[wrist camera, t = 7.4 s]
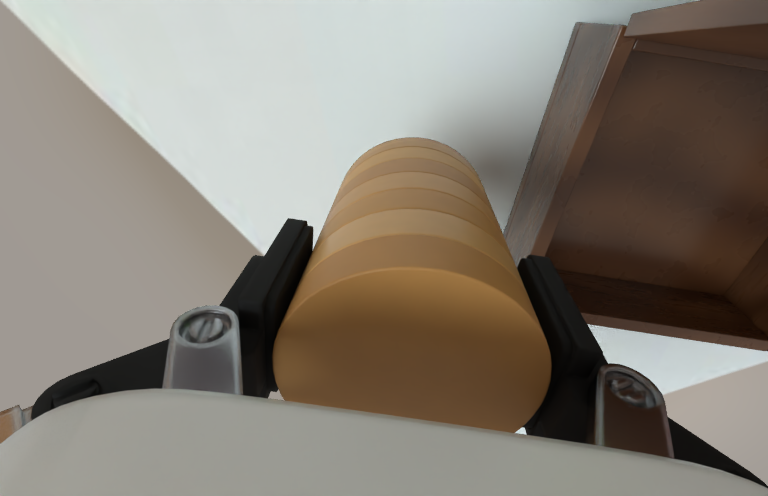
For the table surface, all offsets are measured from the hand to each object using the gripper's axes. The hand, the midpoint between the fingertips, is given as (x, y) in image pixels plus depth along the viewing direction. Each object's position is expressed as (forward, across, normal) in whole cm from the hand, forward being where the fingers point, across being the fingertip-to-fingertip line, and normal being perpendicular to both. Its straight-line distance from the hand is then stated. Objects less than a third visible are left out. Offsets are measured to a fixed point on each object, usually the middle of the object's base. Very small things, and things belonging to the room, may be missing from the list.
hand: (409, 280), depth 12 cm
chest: (+14, -16, 0) cm, 21 cm away
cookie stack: (+5, 0, 0) cm, 5 cm away
